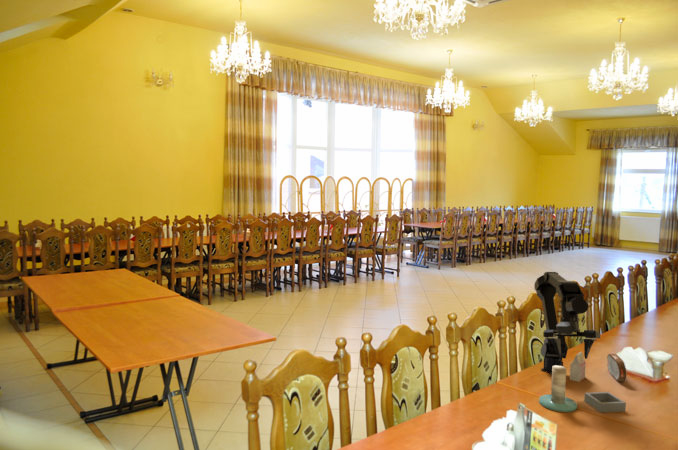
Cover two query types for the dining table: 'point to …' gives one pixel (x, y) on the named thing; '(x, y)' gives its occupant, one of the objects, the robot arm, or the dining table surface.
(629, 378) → the dining table surface
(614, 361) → the tin
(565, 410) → the saucer
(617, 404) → the pocket
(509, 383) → the dining table surface
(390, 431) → the dining table surface
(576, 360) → the milk carton
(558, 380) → the peg
